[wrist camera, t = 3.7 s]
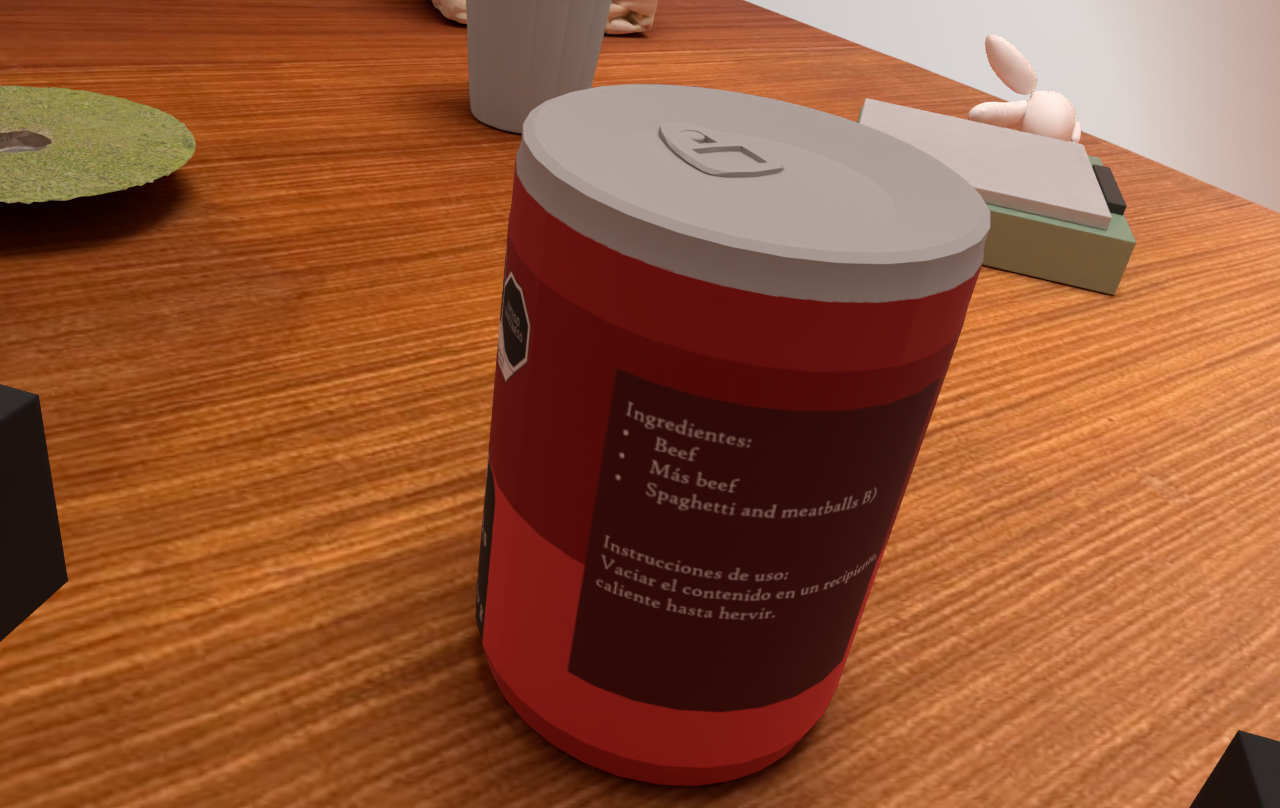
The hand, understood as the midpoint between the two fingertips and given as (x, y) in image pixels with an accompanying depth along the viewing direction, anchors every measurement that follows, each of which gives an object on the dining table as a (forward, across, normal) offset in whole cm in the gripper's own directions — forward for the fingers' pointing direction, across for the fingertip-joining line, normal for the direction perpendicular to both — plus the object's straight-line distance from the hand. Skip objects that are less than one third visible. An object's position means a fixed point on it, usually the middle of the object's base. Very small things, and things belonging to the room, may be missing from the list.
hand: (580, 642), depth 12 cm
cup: (+42, -14, -8) cm, 45 cm away
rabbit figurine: (+55, +10, -8) cm, 56 cm away
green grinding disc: (+22, -26, -8) cm, 35 cm away
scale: (+42, +8, -8) cm, 43 cm away
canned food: (+9, 0, -8) cm, 12 cm away
